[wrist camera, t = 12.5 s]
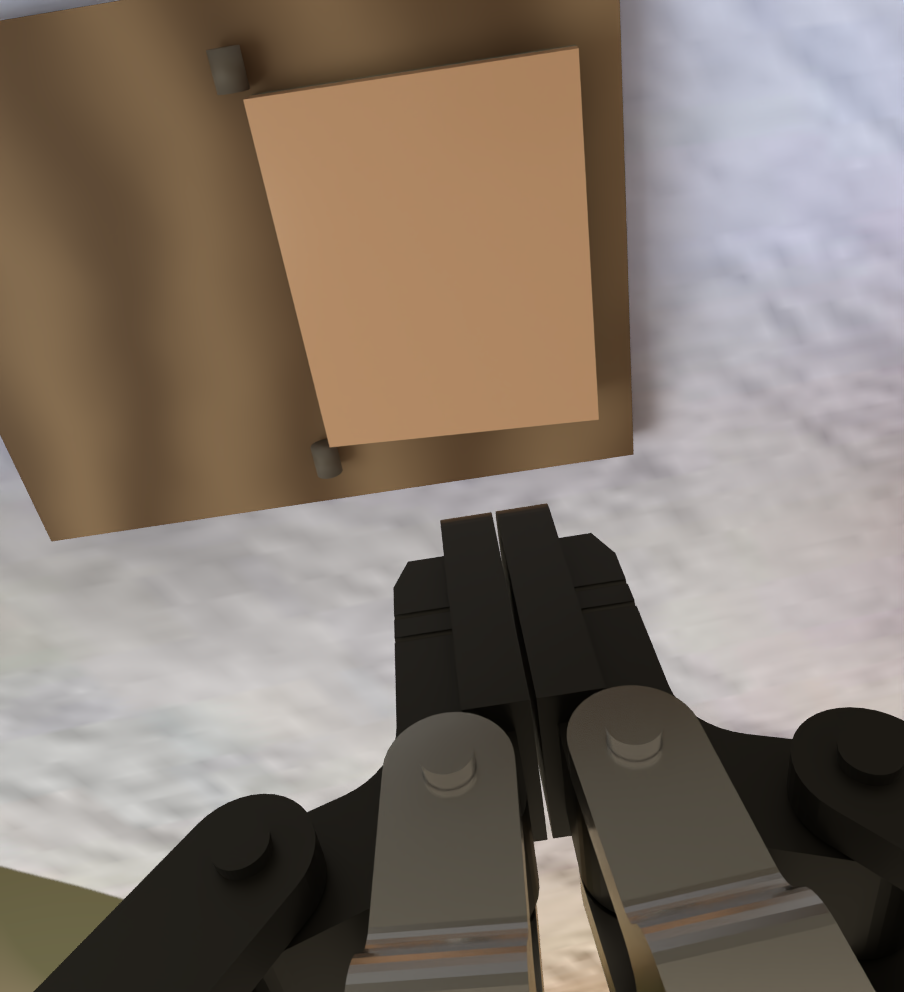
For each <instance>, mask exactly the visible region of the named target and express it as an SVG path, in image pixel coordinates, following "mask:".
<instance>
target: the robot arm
mask: <svg viewBox="0 0 904 992" xmlns="http://www.w3.org/2000/svg"><path fill="white" fill-rule="evenodd" d="M496 521H497V529H498V537H499V544H500V551H499V546H498V541H497V536H496V531H495V527H494V522H493V517H492V513H491V512H490V513H484V514H478V515H471V516H465V517H458V518H452V519H446V520H440V522H441V532H442V541H443V550H444V556H442V557H435V558H429V559H423V560H416V561H410V562H408V563H407V565H406V566H405V568H404V570H403V572H402V574H401V575H400V577H399V579H398V581H397V582H396V584H395V586H394V617H395V620H394V631H395V676H396V722H397V729H396V738H395V741H394V742H393V743H392V745H391V746H390V748H389V749H388V751H387V754H386V756H385V759H384V763H383V766H382V767H381V768H380V769H379V770H378V771H377V773H376V774H375V775H374V776H373V777H371V778H370V779H369V780H368V781H367V782H366V783H364V784H363V785H361V786H360V787H358V788H357V789H356V790H354V791H352V792H350V793H348V794H346V795H344V796H342V797H340V798H338V799H336V800H333V801H331V802H329V803H327V804H324V805H322V806H320V807H318V808H316V809H313V810H311V811H309V812H306V811H305V810H304V809H303V808H302V806H300V805H299V804H298V803H296V802H295V801H293V800H291V799H289V798H286V797H284V796H279V795H275V794H257V795H250V796H246V797H242V798H239V799H236V800H233V801H231V802H228V803H227V804H225V805H223V806H221V807H219V808H217V809H216V810H214V811H213V812H212V813H210V814H209V815H207V816H206V817H205V818H204V819H203V820H202V821H201V822H199V823H198V824H197V825H196V826H195V827H194V828H193V829H192V830H191V831H190V832H189V833H188V834H187V835H186V836H185V838H184V839H183V840H182V841H181V842H180V843H179V844H178V845H177V846H176V847H175V848H174V849H173V850H172V851H171V852H170V853H169V854H168V855H167V856H166V857H165V858H164V859H163V860H162V861H161V862H160V863H159V864H158V865H157V866H156V867H155V868H154V869H153V870H152V871H151V872H150V873H149V874H148V875H147V876H146V877H145V878H144V879H143V880H142V881H141V882H140V883H139V885H138V886H137V887H136V888H135V889H134V890H133V891H132V892H131V893H130V894H129V895H128V896H127V897H126V898H125V899H124V900H123V901H122V902H121V903H120V904H119V905H118V906H117V907H116V908H115V909H114V910H113V911H112V912H111V913H110V914H109V915H108V916H107V917H106V918H105V920H103V921H102V922H101V923H100V924H99V925H98V926H97V928H96V929H94V931H93V932H92V933H91V934H90V935H89V936H88V937H87V938H86V939H85V940H84V941H83V942H82V943H81V944H80V945H79V946H78V947H77V948H76V949H75V950H74V951H73V952H72V953H71V954H70V955H69V956H68V957H67V958H66V959H65V960H64V961H63V962H62V963H61V964H60V965H59V967H57V968H56V969H55V971H53V972H52V973H51V974H50V975H49V977H48V978H47V979H46V980H45V981H44V982H43V983H42V984H41V985H40V986H39V987H38V988H37V989H36V990H35V991H34V992H544V982H543V971H542V959H541V948H540V936H539V925H538V914H537V906H536V903H537V900H538V895H539V878H538V871H537V863H536V856H535V849H534V842H535V841H542V840H547V832H546V824H545V815H544V807H543V799H542V791H541V783H540V775H541V780H542V785H543V790H544V795H545V800H546V806H547V811H548V816H549V821H550V826H551V831H552V836H553V838H559V837H565V836H572V839H573V843H574V848H575V852H576V857H577V861H578V866H579V873H580V884H581V894H582V899H583V904H584V908H585V911H586V914H587V918H588V921H589V924H590V927H591V931H592V934H593V937H594V941H595V944H596V947H597V951H598V954H599V957H600V961H601V964H602V967H603V971H604V974H605V977H606V981H607V984H608V987H609V991H610V992H904V721H903V720H901V719H899V718H896V717H894V716H892V715H889V714H886V713H883V712H879V711H876V710H870V709H865V708H853V707H847V708H835V709H830V710H826V711H823V712H820V713H817V714H815V715H814V716H812V717H810V718H808V719H807V720H806V721H805V722H804V723H802V724H801V725H800V726H799V728H798V729H797V731H796V732H795V734H794V737H793V739H786V738H777V737H768V736H759V735H751V734H743V733H738V732H732V731H729V730H725V729H722V728H719V727H716V726H714V725H712V724H709V723H707V722H705V721H703V720H702V719H700V718H698V717H696V716H695V714H694V713H693V711H692V710H691V709H690V708H689V707H688V706H687V705H686V704H684V703H683V702H682V701H680V700H679V699H678V698H676V697H675V696H674V695H673V693H672V691H671V689H670V687H669V685H668V682H667V680H666V677H665V675H664V673H663V670H662V668H661V665H660V663H659V660H658V658H657V655H656V653H655V650H654V648H653V645H652V643H651V640H650V638H649V635H648V633H647V630H646V628H645V626H644V623H643V621H642V618H641V616H640V613H639V611H638V608H637V606H635V602H634V598H633V596H632V593H631V591H630V588H629V586H628V584H626V579H625V576H624V574H623V571H622V569H621V566H620V564H619V561H618V559H617V556H616V554H615V552H613V551H612V550H611V549H610V548H608V547H607V546H606V545H605V544H604V543H602V542H601V541H600V540H599V539H598V538H596V537H595V536H594V535H593V534H592V533H588V534H582V535H575V536H569V537H563V538H558V535H557V531H556V528H555V525H554V522H553V519H552V516H551V512H550V509H549V506H548V504H540V505H534V506H528V507H521V508H515V509H508V510H502V511H496ZM500 552H501V556H500ZM501 559H502V561H501ZM538 765H539V767H538ZM539 770H540V775H539Z"/></svg>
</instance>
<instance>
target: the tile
mask: <svg viewBox="0 0 904 992" xmlns="http://www.w3.org/2000/svg"><path fill="white" fill-rule="evenodd" d="M243 101H244V105H245V109H246V113H247V117H248V121H249V125H250V129H251V133H252V137H253V141H254V145H255V149H256V153H257V157H258V161H259V165H260V169H261V173H262V177H263V181H264V185H265V189H266V193H267V197H268V201H269V206H270V210H271V214H272V218H273V222H274V226H275V230H276V234H277V238H278V242H279V246H280V250H281V254H282V258H283V262H284V266H285V270H286V274H287V278H288V282H289V286H290V290H291V294H292V298H293V302H294V306H295V310H296V314H297V318H298V322H299V326H300V330H301V334H302V338H303V342H304V346H305V350H306V354H307V358H308V362H309V366H310V370H311V374H312V378H313V382H314V386H315V390H316V394H317V398H318V402H319V406H320V410H321V414H322V418H323V422H324V426H325V430H326V435H327V439H328V443H329V447H338V446H348V445H358V444H367V443H377V442H387V441H397V440H406V439H416V438H426V437H435V436H445V435H455V434H464V433H474V432H484V431H493V430H503V429H513V428H522V427H532V426H542V425H552V424H561V423H571V422H581V421H590V420H599V414H598V395H597V377H596V358H595V340H594V321H593V303H592V285H591V266H590V248H589V229H588V211H587V193H586V174H585V156H584V137H583V119H582V100H581V82H580V64H579V48H578V47H577V46H576V45H570V46H564V47H557V48H551V49H544V50H538V51H531V52H525V53H518V54H512V55H505V56H499V57H492V58H486V59H479V60H473V61H466V62H460V63H453V64H447V65H440V66H434V67H427V68H421V69H414V70H408V71H401V72H395V73H388V74H382V75H375V76H369V77H362V78H356V79H349V80H343V81H336V82H330V83H323V84H317V85H310V86H304V87H297V88H291V89H284V90H278V91H271V92H265V93H258V94H253V95H251V96H249V97H247V98H245V99H244V100H243Z"/></svg>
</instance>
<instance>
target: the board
mask: <svg viewBox="0 0 904 992" xmlns="http://www.w3.org/2000/svg"><path fill="white" fill-rule="evenodd" d="M570 45H576V46H577V47H578V48H579V64H580V82H581V100H582V119H583V137H584V156H585V174H586V193H587V211H588V229H589V248H590V266H591V285H592V303H593V321H594V340H595V358H596V377H597V395H598V414H599V420H590V421H581V422H571V423H561V424H552V425H542V426H532V427H522V428H513V429H503V430H493V431H484V432H474V433H464V434H455V435H445V436H435V437H426V438H416V439H406V440H397V441H387V442H377V443H367V444H358V445H348V446H338V447H329V443H328V439H327V435H326V430H325V426H324V422H323V418H322V414H321V410H320V406H319V402H318V398H317V394H316V390H315V386H314V382H313V378H312V374H311V370H310V366H309V362H308V358H307V354H306V350H305V346H304V342H303V338H302V334H301V330H300V326H299V322H298V318H297V314H296V310H295V306H294V302H293V298H292V294H291V290H290V286H289V282H288V278H287V274H286V270H285V266H284V262H283V258H282V254H281V250H280V246H279V242H278V238H277V234H276V230H275V226H274V222H273V218H272V214H271V210H270V206H269V201H268V197H267V193H266V189H265V185H264V181H263V177H262V173H261V169H260V165H259V161H258V157H257V153H256V149H255V145H254V141H253V137H252V133H251V129H250V125H249V121H248V117H247V113H246V109H245V105H244V101H243V100H244V99H245V98H247V97H249V96H251V95H253V94H258V93H265V92H271V91H278V90H284V89H291V88H297V87H304V86H310V85H317V84H323V83H330V82H336V81H343V80H349V79H356V78H362V77H369V76H375V75H382V74H388V73H395V72H401V71H408V70H414V69H421V68H427V67H434V66H440V65H447V64H453V63H460V62H466V61H473V60H479V59H486V58H492V57H499V56H505V55H512V54H518V53H525V52H531V51H538V50H544V49H551V48H557V47H564V46H570ZM0 435H1V438H2V440H3V442H4V444H5V446H6V448H7V450H8V452H9V454H10V456H11V458H12V460H13V462H14V465H15V467H16V469H17V471H18V473H19V475H20V477H21V479H22V481H23V483H24V485H25V487H26V489H27V492H28V494H29V496H30V498H31V500H32V502H33V504H34V506H35V508H36V510H37V512H38V514H39V516H40V519H41V521H42V523H43V525H44V527H45V529H46V531H47V533H48V535H49V537H50V539H51V541H57V540H64V539H71V538H77V537H84V536H91V535H97V534H104V533H111V532H118V531H124V530H131V529H138V528H144V527H151V526H158V525H164V524H171V523H178V522H185V521H191V520H198V519H205V518H211V517H218V516H225V515H231V514H238V513H245V512H251V511H258V510H265V509H272V508H278V507H285V506H292V505H298V504H305V503H312V502H318V501H325V500H332V499H338V498H345V497H352V496H359V495H365V494H372V493H379V492H385V491H392V490H399V489H405V488H412V487H419V486H426V485H432V484H439V483H446V482H452V481H459V480H466V479H472V478H479V477H486V476H492V475H499V474H506V473H513V472H519V471H526V470H533V469H539V468H546V467H553V466H559V465H566V464H573V463H579V462H586V461H593V460H600V459H606V458H613V457H620V456H626V455H633V422H632V390H631V357H630V324H629V292H628V259H627V226H626V194H625V161H624V128H623V96H622V63H621V30H620V0H120V1H114V2H108V3H102V4H96V5H91V6H85V7H79V8H73V9H67V10H61V11H55V12H49V13H43V14H37V15H31V16H25V17H19V18H13V19H7V20H1V21H0Z"/></svg>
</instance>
